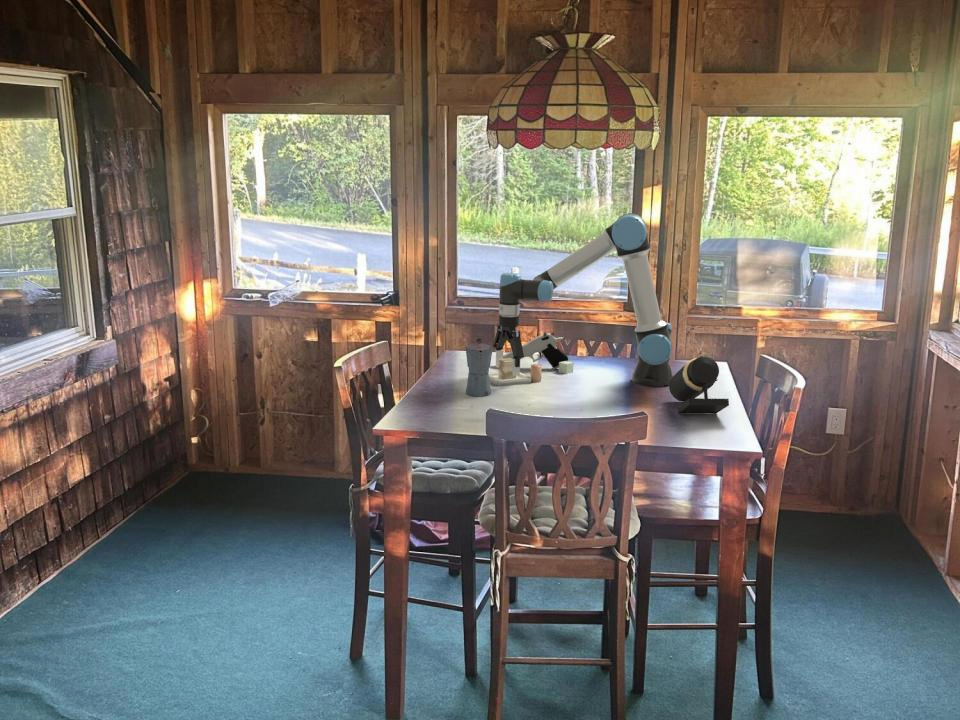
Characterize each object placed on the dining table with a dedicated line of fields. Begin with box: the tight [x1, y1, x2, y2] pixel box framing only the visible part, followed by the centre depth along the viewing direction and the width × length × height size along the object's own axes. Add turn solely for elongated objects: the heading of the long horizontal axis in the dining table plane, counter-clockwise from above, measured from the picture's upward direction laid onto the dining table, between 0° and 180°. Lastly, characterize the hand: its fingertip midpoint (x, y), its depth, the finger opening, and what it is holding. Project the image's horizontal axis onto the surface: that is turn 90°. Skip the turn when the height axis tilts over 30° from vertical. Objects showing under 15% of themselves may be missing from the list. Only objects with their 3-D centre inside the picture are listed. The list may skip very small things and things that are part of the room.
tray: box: [488, 371, 532, 387], centre depth 337 cm, size 12×14×2 cm
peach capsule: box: [530, 363, 543, 383], centre depth 337 cm, size 4×4×6 cm
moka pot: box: [465, 338, 494, 397], centre depth 317 cm, size 10×15×20 cm, turn 9°
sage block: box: [558, 361, 574, 375], centre depth 352 cm, size 4×4×4 cm
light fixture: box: [668, 355, 730, 414], centre depth 302 cm, size 13×18×26 cm
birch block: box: [497, 358, 516, 380], centre depth 336 cm, size 5×5×7 cm
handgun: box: [503, 331, 570, 370], centre depth 357 cm, size 4×28×15 cm, turn 85°
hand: (507, 371), depth 336 cm, fingers open, 13 cm apart
